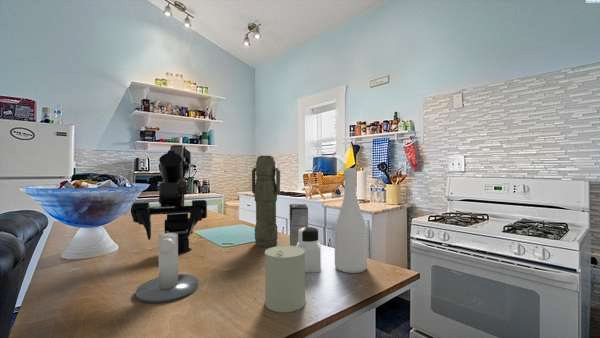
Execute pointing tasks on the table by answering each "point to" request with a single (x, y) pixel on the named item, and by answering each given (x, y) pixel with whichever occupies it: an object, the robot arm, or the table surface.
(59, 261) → the table surface
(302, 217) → the coffee box
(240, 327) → the table surface
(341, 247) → the wine bottle
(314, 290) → the table surface
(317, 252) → the medicine bottle
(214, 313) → the table surface
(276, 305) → the can
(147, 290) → the flange plate
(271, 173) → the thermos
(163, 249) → the duct elbow
